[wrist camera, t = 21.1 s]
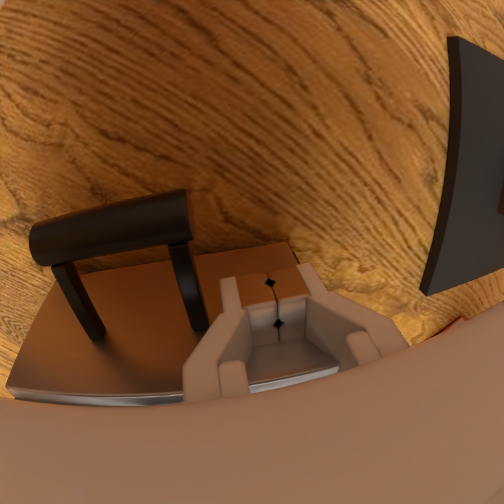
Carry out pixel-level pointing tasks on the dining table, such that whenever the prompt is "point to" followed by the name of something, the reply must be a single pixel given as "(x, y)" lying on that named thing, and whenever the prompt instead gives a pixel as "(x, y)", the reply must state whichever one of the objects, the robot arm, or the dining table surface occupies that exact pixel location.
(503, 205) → the packet
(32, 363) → the drawer
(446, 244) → the mat
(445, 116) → the dining table surface
